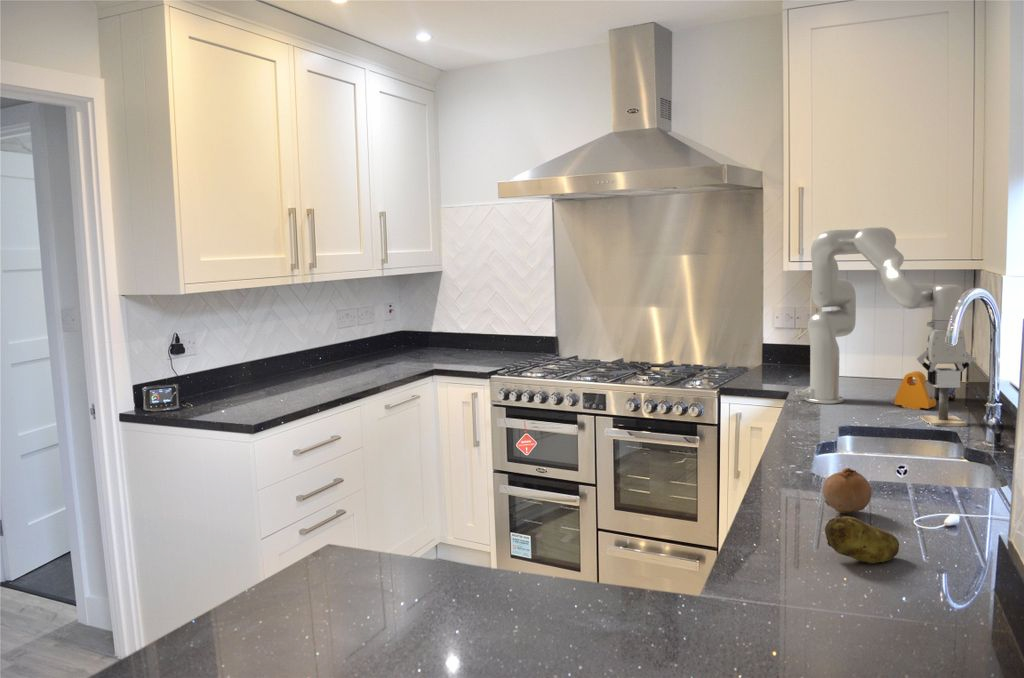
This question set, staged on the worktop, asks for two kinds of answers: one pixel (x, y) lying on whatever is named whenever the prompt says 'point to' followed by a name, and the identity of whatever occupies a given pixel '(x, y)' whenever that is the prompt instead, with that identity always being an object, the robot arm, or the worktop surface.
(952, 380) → the collar
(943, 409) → the post stand
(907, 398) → the bracket
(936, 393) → the supplement container
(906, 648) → the worktop surface
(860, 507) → the onion
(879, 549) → the potato
